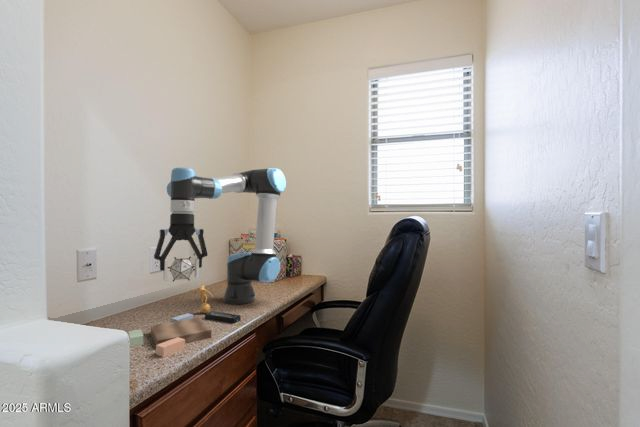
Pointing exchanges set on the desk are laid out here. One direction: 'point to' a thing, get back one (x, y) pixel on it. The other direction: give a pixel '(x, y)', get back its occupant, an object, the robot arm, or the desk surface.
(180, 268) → the game die
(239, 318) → the multiport hub
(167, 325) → the walnut board
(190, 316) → the slate brick
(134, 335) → the sage brick
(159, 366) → the desk surface
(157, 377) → the desk surface
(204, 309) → the figurine
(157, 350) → the terracotta brick
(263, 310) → the desk surface
